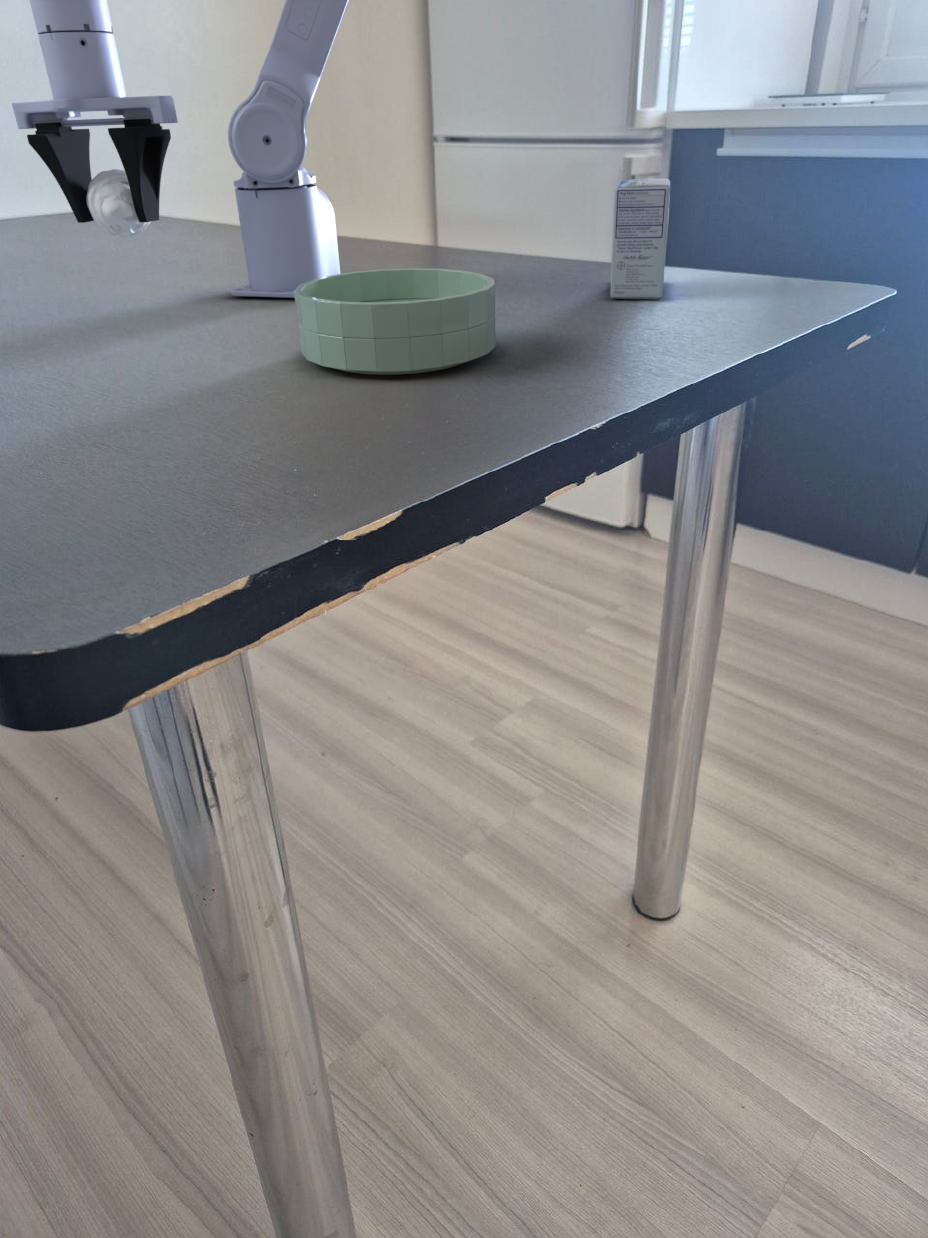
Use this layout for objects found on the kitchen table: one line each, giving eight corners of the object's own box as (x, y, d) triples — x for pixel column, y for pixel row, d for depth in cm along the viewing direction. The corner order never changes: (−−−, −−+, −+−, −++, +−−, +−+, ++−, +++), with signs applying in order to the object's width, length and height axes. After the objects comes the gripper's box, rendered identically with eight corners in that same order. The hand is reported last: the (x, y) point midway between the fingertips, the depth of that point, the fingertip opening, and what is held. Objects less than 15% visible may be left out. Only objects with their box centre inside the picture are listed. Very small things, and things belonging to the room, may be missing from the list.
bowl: (350, 329, 64) (344, 266, 62) (515, 336, 61) (515, 269, 59) (268, 374, 54) (258, 300, 52) (463, 385, 50) (461, 306, 48)
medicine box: (662, 300, 71) (672, 184, 66) (608, 299, 72) (614, 185, 67) (662, 283, 77) (671, 177, 73) (613, 283, 78) (619, 178, 74)
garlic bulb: (95, 245, 72) (78, 173, 69) (95, 237, 77) (79, 170, 74) (162, 240, 73) (147, 169, 71) (157, 232, 78) (143, 166, 76)
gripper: (-35, 37, 66) (18, 226, 73) (122, 25, 62) (162, 226, 69) (29, 42, 72) (72, 217, 79) (176, 31, 68) (208, 216, 75)
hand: (118, 221), depth 75 cm, fingers closed on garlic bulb, 6 cm apart
